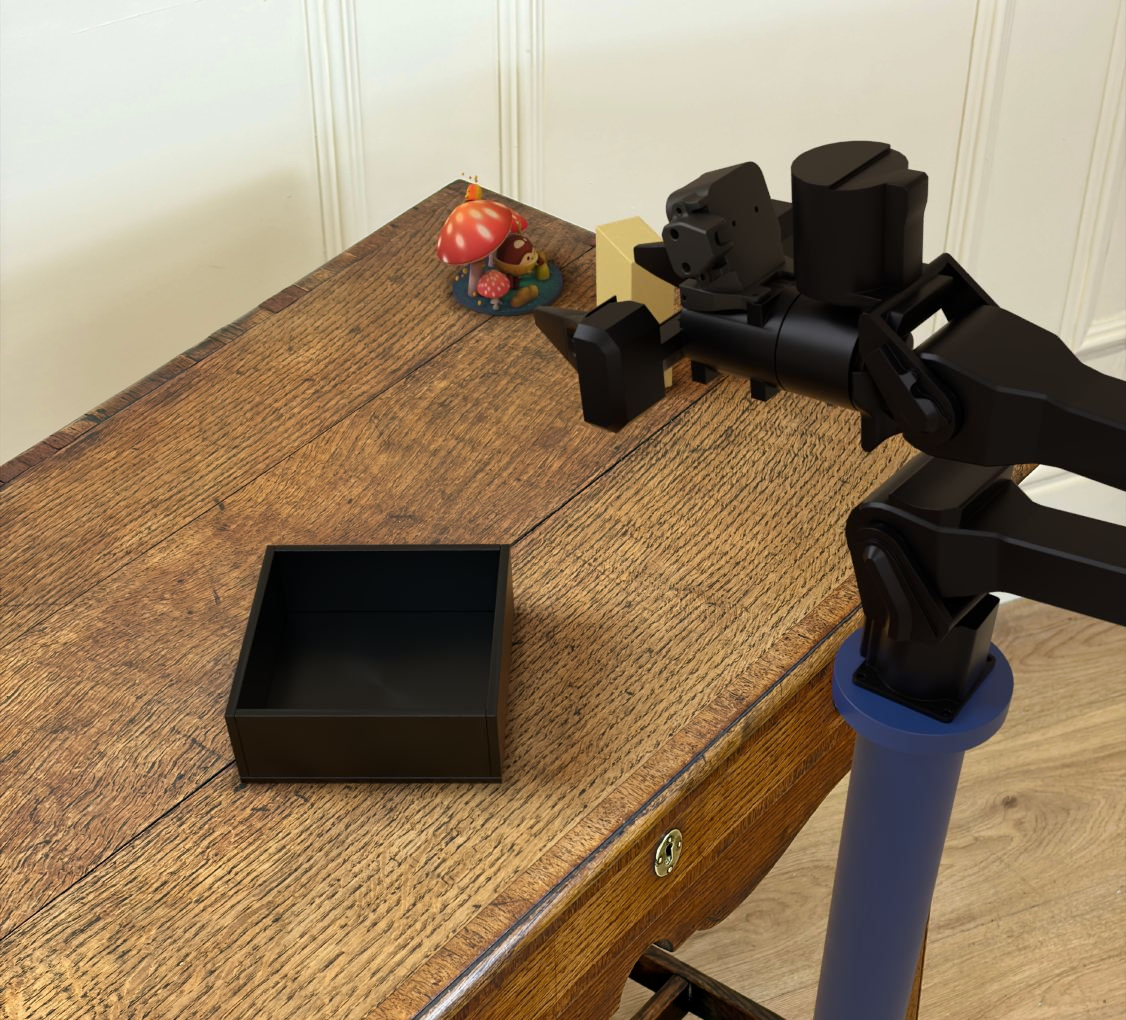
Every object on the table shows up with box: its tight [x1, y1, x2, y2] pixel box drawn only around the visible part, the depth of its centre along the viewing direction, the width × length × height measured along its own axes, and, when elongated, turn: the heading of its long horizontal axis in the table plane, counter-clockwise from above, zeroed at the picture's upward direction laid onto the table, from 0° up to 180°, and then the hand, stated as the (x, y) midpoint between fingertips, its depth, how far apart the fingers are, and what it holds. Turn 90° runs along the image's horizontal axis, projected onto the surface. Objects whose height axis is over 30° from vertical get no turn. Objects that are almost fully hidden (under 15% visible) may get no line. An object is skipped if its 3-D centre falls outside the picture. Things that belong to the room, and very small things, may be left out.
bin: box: [223, 543, 516, 784], centre depth 94 cm, size 15×15×6 cm
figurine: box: [436, 172, 564, 316], centre depth 127 cm, size 12×9×8 cm
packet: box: [595, 215, 676, 389], centre depth 117 cm, size 4×6×11 cm, turn 24°
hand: (586, 283), depth 94 cm, fingers open, 9 cm apart
